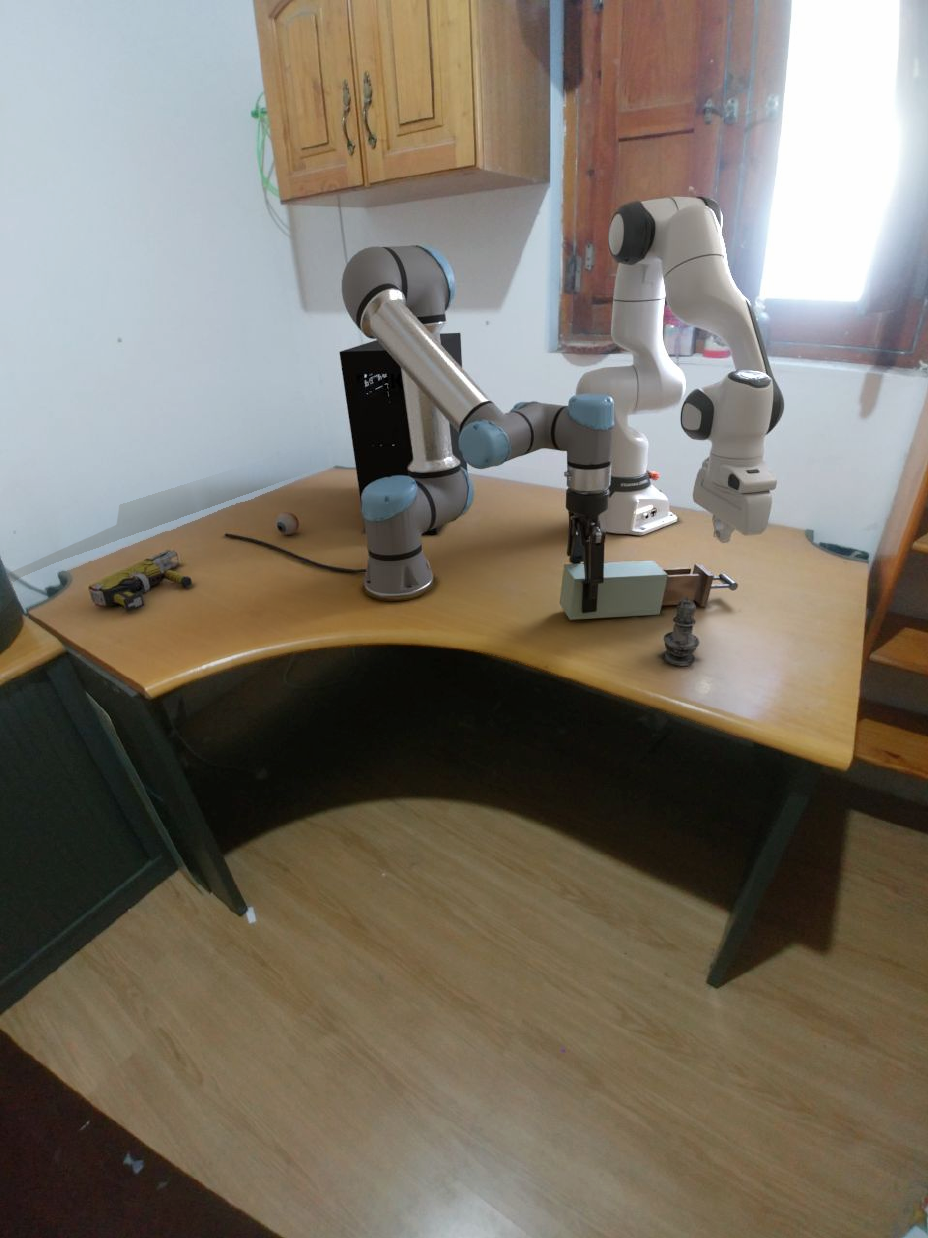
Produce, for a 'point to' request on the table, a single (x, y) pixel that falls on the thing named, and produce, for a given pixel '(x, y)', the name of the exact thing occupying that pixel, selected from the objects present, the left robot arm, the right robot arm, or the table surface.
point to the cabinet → (616, 590)
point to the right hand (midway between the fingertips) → (721, 539)
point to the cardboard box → (384, 412)
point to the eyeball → (287, 523)
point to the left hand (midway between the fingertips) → (582, 602)
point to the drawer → (692, 584)
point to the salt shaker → (681, 636)
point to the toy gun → (136, 582)
